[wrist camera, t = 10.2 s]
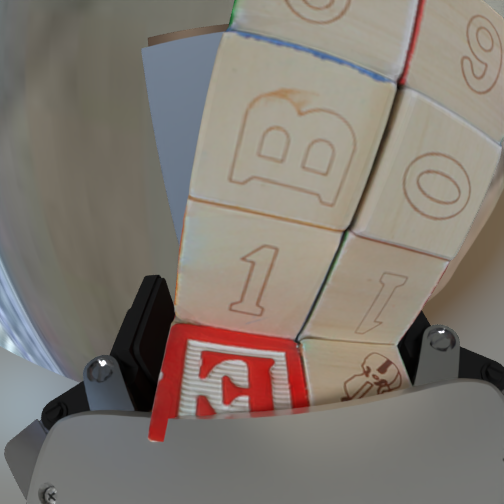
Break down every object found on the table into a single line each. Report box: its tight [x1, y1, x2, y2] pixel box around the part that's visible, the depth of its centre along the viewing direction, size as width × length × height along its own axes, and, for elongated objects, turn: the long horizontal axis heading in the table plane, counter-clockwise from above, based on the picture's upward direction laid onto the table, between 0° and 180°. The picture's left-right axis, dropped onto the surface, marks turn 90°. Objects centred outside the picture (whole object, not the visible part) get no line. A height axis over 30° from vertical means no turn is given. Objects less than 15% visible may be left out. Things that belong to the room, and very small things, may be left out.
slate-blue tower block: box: [141, 32, 224, 246], centre depth 20 cm, size 10×23×4 cm, turn 6°
